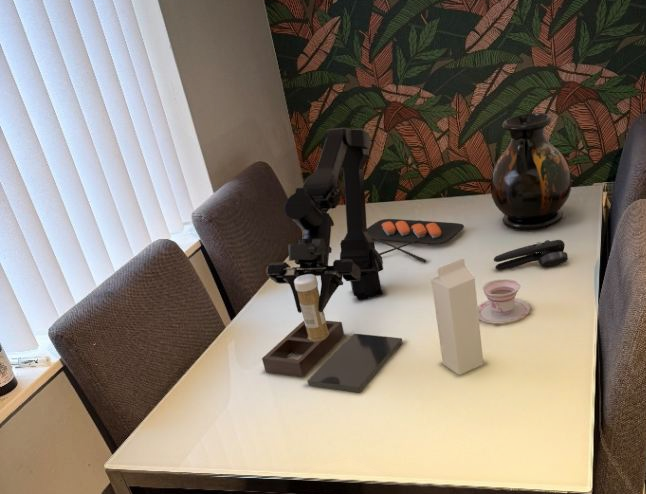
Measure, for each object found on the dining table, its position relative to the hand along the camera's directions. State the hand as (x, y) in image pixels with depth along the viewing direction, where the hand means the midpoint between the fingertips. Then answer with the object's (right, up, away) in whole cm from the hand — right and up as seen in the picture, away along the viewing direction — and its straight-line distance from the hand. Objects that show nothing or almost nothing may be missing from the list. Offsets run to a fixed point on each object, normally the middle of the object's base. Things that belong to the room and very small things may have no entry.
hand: (309, 312), depth 154 cm
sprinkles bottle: (+1, -5, +5) cm, 7 cm away
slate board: (+9, -10, +6) cm, 15 cm away
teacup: (+41, +1, +15) cm, 44 cm away
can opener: (+51, +15, +34) cm, 63 cm away
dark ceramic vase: (+57, +31, +58) cm, 87 cm away
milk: (+31, -11, -1) cm, 33 cm away
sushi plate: (+19, +23, +58) cm, 65 cm away
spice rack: (-2, -8, +13) cm, 16 cm away
